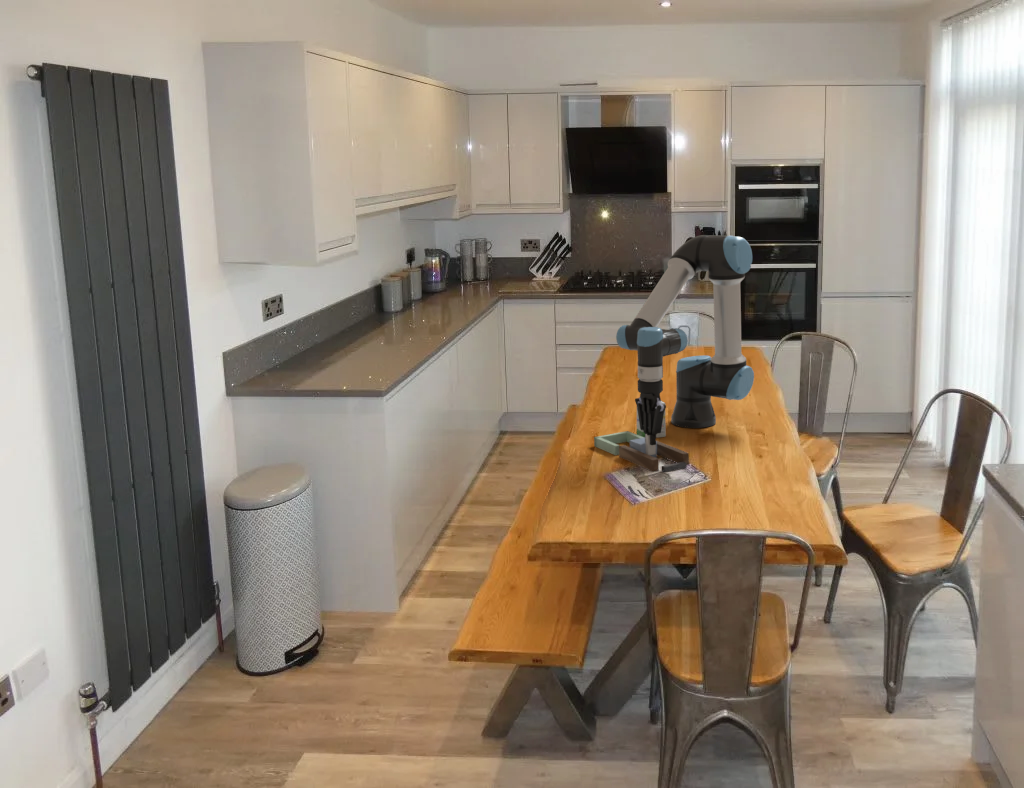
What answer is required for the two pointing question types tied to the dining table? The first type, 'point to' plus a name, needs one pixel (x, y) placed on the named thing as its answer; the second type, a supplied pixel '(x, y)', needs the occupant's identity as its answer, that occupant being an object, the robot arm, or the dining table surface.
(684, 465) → the bar
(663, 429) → the ink box
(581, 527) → the dining table surface
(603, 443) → the frame
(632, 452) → the channel
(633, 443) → the block
